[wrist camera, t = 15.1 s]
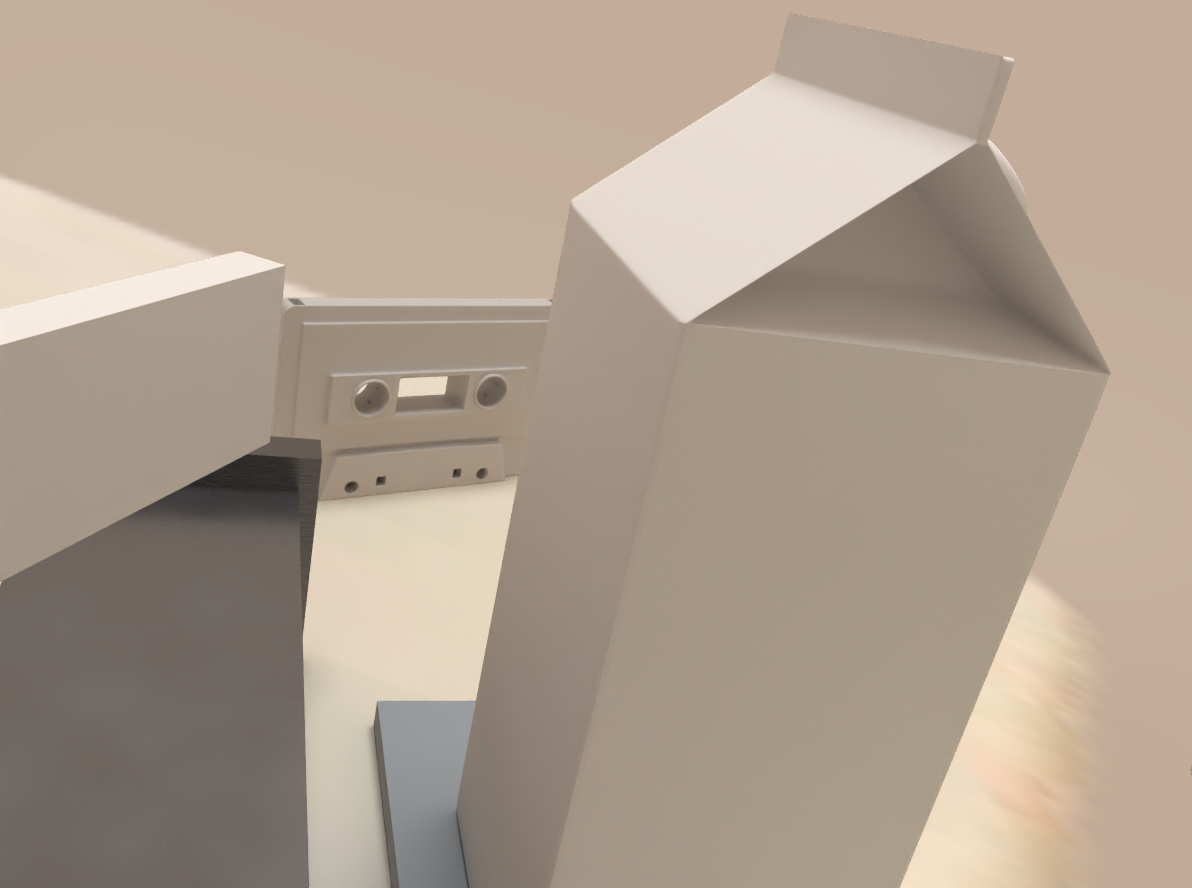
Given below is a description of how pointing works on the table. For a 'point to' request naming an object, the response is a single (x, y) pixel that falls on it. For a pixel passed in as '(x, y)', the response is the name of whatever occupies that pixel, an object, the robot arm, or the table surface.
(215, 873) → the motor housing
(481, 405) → the cassette
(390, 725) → the slate mat
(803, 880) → the milk carton
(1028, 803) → the table surface
